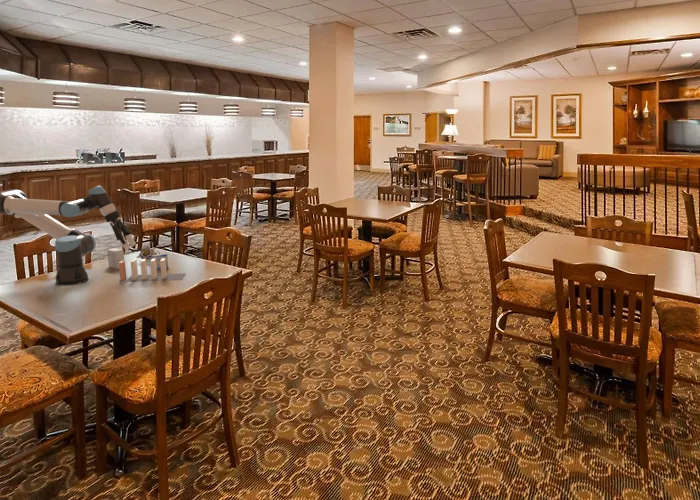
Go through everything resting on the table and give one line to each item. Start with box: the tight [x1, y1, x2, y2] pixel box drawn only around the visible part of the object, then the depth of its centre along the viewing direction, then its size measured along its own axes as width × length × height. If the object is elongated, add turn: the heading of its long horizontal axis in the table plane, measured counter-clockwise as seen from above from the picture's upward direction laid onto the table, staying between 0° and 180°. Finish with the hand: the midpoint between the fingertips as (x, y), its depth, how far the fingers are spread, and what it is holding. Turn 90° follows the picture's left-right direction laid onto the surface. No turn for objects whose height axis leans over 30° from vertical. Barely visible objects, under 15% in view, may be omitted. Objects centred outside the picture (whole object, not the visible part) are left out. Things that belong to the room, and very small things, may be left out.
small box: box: [106, 247, 126, 270], centre depth 296 cm, size 8×6×10 cm
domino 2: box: [140, 258, 149, 279], centre depth 272 cm, size 2×5×10 cm, turn 9°
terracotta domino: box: [118, 261, 127, 281], centre depth 271 cm, size 2×5×10 cm, turn 9°
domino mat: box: [125, 273, 187, 283], centre depth 274 cm, size 29×13×1 cm, turn 99°
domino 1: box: [130, 258, 139, 280], centre depth 271 cm, size 2×5×10 cm, turn 9°
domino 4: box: [160, 258, 168, 279], centre depth 274 cm, size 2×5×10 cm, turn 9°
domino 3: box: [149, 259, 158, 279], centre depth 273 cm, size 2×5×10 cm, turn 9°
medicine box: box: [151, 252, 169, 271], centre depth 292 cm, size 8×4×9 cm, turn 143°
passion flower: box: [136, 245, 161, 264], centre depth 309 cm, size 11×11×12 cm
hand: (131, 247), depth 279 cm, fingers open, 13 cm apart
